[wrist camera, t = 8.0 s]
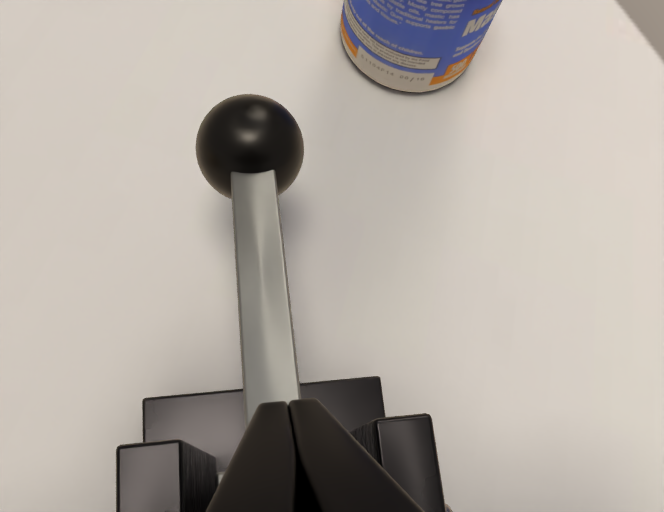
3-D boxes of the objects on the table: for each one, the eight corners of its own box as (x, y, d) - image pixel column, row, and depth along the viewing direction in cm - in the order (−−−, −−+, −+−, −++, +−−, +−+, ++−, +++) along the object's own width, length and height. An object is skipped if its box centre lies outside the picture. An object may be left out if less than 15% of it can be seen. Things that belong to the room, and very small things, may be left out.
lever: (199, 150, 18) (189, 72, 16) (296, 146, 19) (299, 69, 16) (212, 677, 11) (197, 671, 9) (368, 652, 12) (392, 641, 9)
